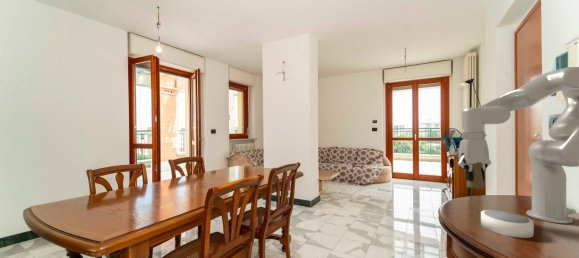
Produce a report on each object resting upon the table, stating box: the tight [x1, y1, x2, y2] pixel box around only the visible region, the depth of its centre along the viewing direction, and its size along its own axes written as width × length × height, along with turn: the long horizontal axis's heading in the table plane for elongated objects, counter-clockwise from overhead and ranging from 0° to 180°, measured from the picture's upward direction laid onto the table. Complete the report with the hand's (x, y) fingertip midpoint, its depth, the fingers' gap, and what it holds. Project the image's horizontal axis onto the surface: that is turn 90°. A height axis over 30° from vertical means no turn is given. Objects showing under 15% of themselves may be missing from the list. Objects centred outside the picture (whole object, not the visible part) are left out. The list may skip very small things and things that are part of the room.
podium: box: [480, 209, 535, 239], centre depth 86 cm, size 14×14×5 cm
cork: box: [466, 162, 485, 189], centre depth 100 cm, size 6×6×11 cm
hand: (475, 179), depth 99 cm, fingers closed on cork, 4 cm apart
